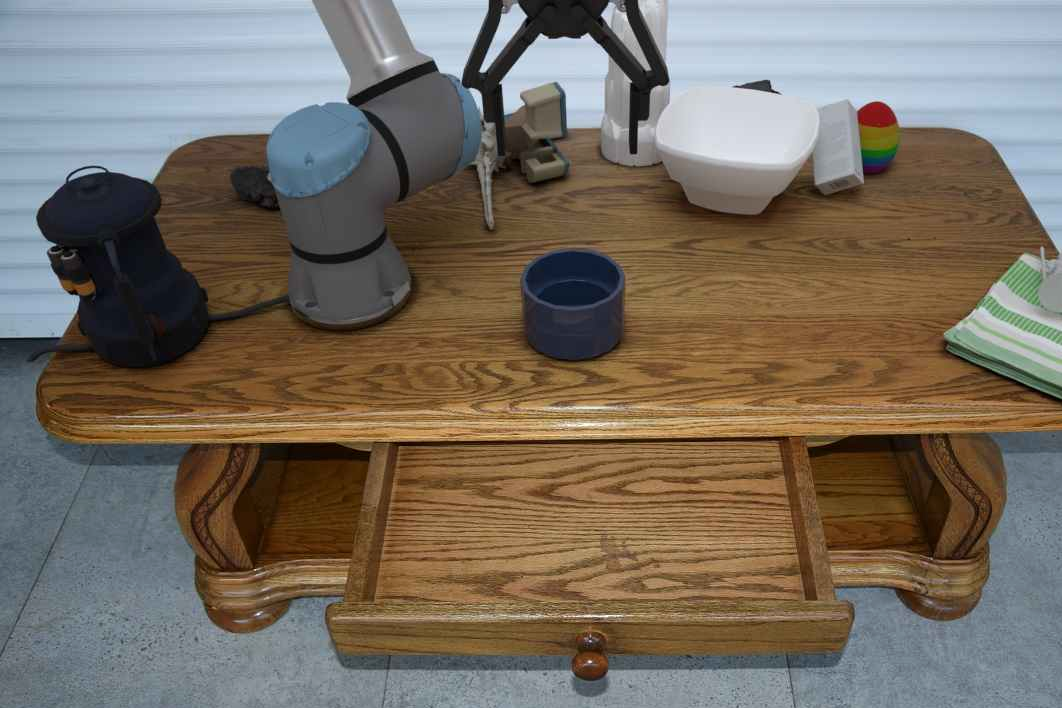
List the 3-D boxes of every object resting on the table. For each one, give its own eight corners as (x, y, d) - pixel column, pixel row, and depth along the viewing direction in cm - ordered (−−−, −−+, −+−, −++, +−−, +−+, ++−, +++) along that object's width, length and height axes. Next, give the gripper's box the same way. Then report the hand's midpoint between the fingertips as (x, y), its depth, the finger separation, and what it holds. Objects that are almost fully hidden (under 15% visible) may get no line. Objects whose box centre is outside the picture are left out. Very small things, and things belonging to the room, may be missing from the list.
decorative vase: (664, 170, 143) (672, 2, 126) (595, 163, 145) (594, -4, 127) (674, 136, 151) (683, -26, 134) (608, 130, 152) (609, -31, 135)
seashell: (459, 247, 132) (449, 137, 147) (520, 245, 134) (504, 136, 149) (458, 189, 124) (448, 78, 139) (523, 187, 126) (506, 78, 141)
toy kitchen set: (484, 50, 141) (550, 37, 144) (493, 138, 151) (554, 124, 154) (528, 99, 129) (599, 83, 132) (535, 191, 139) (600, 175, 142)
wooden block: (506, 153, 139) (529, 129, 144) (529, 151, 137) (551, 127, 143) (497, 127, 137) (521, 104, 142) (520, 125, 135) (544, 102, 140)
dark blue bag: (80, 310, 117) (104, 418, 105) (6, 165, 102) (24, 272, 90) (201, 277, 122) (237, 377, 110) (148, 133, 106) (183, 232, 94)
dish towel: (935, 348, 112) (940, 330, 110) (1014, 263, 125) (1019, 246, 123) (1087, 413, 103) (1095, 394, 101) (1155, 314, 116) (1163, 296, 114)
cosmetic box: (864, 185, 135) (858, 110, 138) (854, 174, 131) (848, 97, 134) (824, 196, 138) (819, 123, 141) (813, 185, 135) (807, 110, 137)
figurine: (1049, 266, 111) (1045, 229, 120) (1030, 305, 114) (1028, 266, 123) (1095, 279, 110) (1087, 241, 119) (1075, 318, 113) (1069, 277, 122)
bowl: (792, 251, 127) (804, 174, 119) (635, 222, 132) (637, 147, 124) (819, 172, 142) (831, 99, 134) (677, 149, 147) (681, 78, 139)
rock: (209, 175, 131) (259, 123, 131) (231, 187, 139) (278, 138, 139) (273, 235, 131) (322, 183, 131) (291, 243, 140) (337, 194, 140)
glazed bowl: (534, 370, 109) (531, 316, 104) (517, 309, 118) (513, 255, 112) (634, 355, 111) (636, 300, 106) (610, 295, 120) (610, 242, 114)
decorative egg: (888, 152, 146) (902, 91, 140) (897, 179, 140) (912, 116, 134) (835, 150, 147) (846, 89, 140) (841, 177, 141) (854, 115, 134)
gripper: (698, -84, 86) (683, 130, 101) (425, -82, 86) (450, 133, 100) (706, -57, 81) (690, 165, 95) (415, -55, 80) (443, 168, 95)
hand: (567, 149), depth 98 cm, fingers open, 13 cm apart
